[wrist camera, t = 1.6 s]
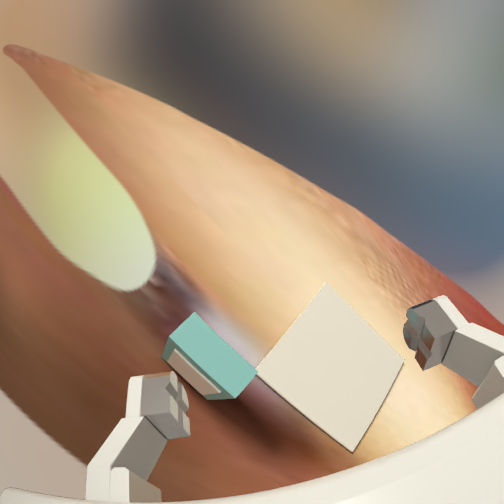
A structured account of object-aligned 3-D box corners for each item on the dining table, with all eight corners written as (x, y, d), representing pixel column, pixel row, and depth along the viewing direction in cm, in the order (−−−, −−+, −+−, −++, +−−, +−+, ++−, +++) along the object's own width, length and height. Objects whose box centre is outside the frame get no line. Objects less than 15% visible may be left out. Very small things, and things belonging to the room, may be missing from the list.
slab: (160, 357, 29) (167, 337, 20) (178, 339, 30) (194, 311, 22) (206, 400, 28) (233, 400, 20) (224, 381, 30) (258, 371, 21)
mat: (252, 371, 31) (254, 371, 31) (324, 283, 38) (326, 282, 38) (350, 451, 30) (352, 451, 29) (402, 360, 37) (404, 359, 37)
